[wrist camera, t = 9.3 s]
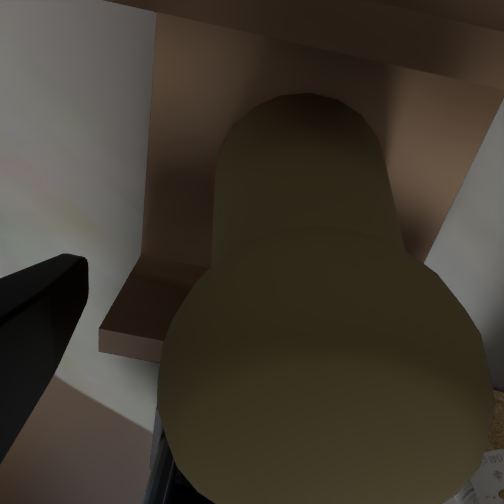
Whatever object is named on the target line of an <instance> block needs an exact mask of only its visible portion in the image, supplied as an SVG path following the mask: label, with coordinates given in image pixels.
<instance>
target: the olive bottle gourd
mask: <svg viewBox="0 0 504 504" xmlns="http://www.w3.org/2000/svg"><path fill="white" fill-rule="evenodd" d="M495 406H496V401H495V397H494V392H493V387H492V382H491V378H490V373H489V368H488V364H487V360H486V355H485V351H484V346H483V342H482V337H481V334H480V332H479V330H478V329H477V327H476V326H475V324H474V323H473V321H472V319H471V318H470V316H469V315H468V313H467V311H466V310H465V308H464V307H463V306H462V305H461V303H460V302H459V301H458V300H457V298H456V297H455V296H454V294H453V293H452V292H451V291H450V289H449V288H448V287H447V286H446V284H445V283H444V282H443V281H442V279H441V278H440V277H439V276H438V274H436V273H435V272H434V271H432V270H431V269H430V268H429V267H427V266H426V265H425V264H423V263H422V262H421V261H419V260H418V259H416V258H415V257H413V256H411V255H409V254H408V253H406V252H405V249H404V244H403V240H402V235H401V231H400V226H399V222H398V217H397V213H396V208H395V203H394V199H393V194H392V190H391V185H390V181H389V176H388V172H387V167H386V163H385V159H384V156H383V152H382V149H381V145H380V142H379V139H378V136H377V135H376V134H375V132H374V131H373V130H372V128H371V127H370V126H369V124H368V123H367V122H366V120H365V119H364V117H363V116H362V115H361V114H359V113H358V112H356V111H355V110H353V109H352V108H350V107H349V106H347V105H345V104H344V103H342V102H341V101H339V100H337V99H333V98H329V97H325V96H321V95H317V94H313V93H301V94H291V95H280V96H278V97H276V98H273V99H271V100H269V101H267V102H264V103H262V104H260V105H258V106H255V107H253V108H252V109H251V110H250V111H249V112H248V113H247V114H245V115H244V116H243V117H242V118H241V119H240V120H239V121H238V122H237V123H236V124H235V125H233V126H232V128H231V130H230V132H229V133H228V135H227V137H226V139H225V141H224V143H223V144H222V146H221V148H220V150H219V155H218V160H217V166H216V171H215V183H214V209H213V236H212V262H211V268H210V269H208V270H207V271H206V272H205V273H204V275H203V276H202V277H201V278H200V279H199V280H198V281H197V282H196V284H195V285H194V286H193V288H192V289H191V291H190V292H189V294H188V295H187V297H186V299H185V300H184V302H183V303H182V305H181V306H180V308H179V310H178V311H177V313H176V314H175V316H174V318H173V319H172V322H171V324H170V327H169V329H168V332H167V335H166V337H165V340H164V342H163V347H162V354H161V361H160V368H159V375H158V389H157V410H158V413H159V416H160V420H161V423H162V426H163V429H164V432H165V435H166V439H167V442H168V444H169V447H170V450H171V452H172V455H173V458H174V460H175V463H176V466H177V468H178V469H179V470H180V471H181V472H182V474H183V475H184V476H185V477H186V478H187V480H188V481H189V482H190V483H191V484H192V486H193V487H194V488H195V489H196V490H197V492H199V493H200V494H202V495H203V496H205V497H206V498H208V499H209V500H211V501H212V502H214V503H215V504H442V503H444V502H445V501H447V500H448V499H450V498H452V497H453V496H455V495H457V494H458V493H459V491H460V490H461V489H462V488H463V487H464V485H465V484H466V483H467V482H468V481H469V480H470V478H471V477H472V476H473V475H474V474H475V473H476V471H477V470H478V469H479V468H480V465H481V462H482V458H483V455H484V451H485V448H486V444H487V440H488V437H489V433H490V428H491V424H492V419H493V415H494V410H495Z"/></svg>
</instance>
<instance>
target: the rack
mask: <svg viewBox="0 0 504 504" xmlns="http://www.w3.org/2000/svg"><path fill="white" fill-rule="evenodd" d="M105 1H110V2H114V3H119V4H123V5H128V6H132V7H137V8H141V9H145V10H150V11H154V12H157V19H156V35H155V50H154V65H153V80H152V95H151V111H150V126H149V141H148V156H147V171H146V186H145V202H144V217H143V232H142V247H141V256H140V258H139V259H138V261H137V263H136V265H135V266H134V268H133V270H132V271H131V273H130V275H129V277H128V278H127V280H126V282H125V284H124V285H123V287H122V289H121V291H120V292H119V294H118V296H117V298H116V299H115V301H114V303H113V305H112V306H111V308H110V310H109V312H108V313H107V315H106V317H105V319H104V320H103V322H102V324H101V326H100V327H99V352H104V353H109V354H114V355H120V356H125V357H130V358H136V359H141V360H146V361H151V362H157V363H160V361H161V354H162V347H163V342H164V340H165V337H166V335H167V332H168V329H169V327H170V324H171V322H172V319H173V318H174V316H175V314H176V313H177V311H178V310H179V308H180V306H181V305H182V303H183V302H184V300H185V299H186V297H187V295H188V294H189V292H190V291H191V289H192V288H193V286H194V285H195V284H196V282H197V281H198V280H199V279H200V278H201V277H202V276H203V275H204V273H205V272H206V271H207V270H208V269H210V268H211V262H212V236H213V209H214V183H215V171H216V166H217V160H218V155H219V150H220V148H221V146H222V144H223V143H224V141H225V139H226V137H227V135H228V133H229V132H230V130H231V128H232V126H233V125H235V124H236V123H237V122H238V121H239V120H240V119H241V118H242V117H243V116H244V115H245V114H247V113H248V112H249V111H250V110H251V109H252V108H253V107H255V106H258V105H260V104H262V103H264V102H267V101H269V100H271V99H273V98H276V97H278V96H280V95H291V94H301V93H313V94H317V95H321V96H325V97H329V98H333V99H337V100H339V101H341V102H342V103H344V104H345V105H347V106H349V107H350V108H352V109H353V110H355V111H356V112H358V113H359V114H361V115H362V116H363V117H364V119H365V120H366V122H367V123H368V124H369V126H370V127H371V128H372V130H373V131H374V132H375V134H376V135H377V136H378V139H379V142H380V145H381V149H382V152H383V156H384V159H385V163H386V167H387V172H388V176H389V181H390V185H391V190H392V194H393V199H394V203H395V208H396V213H397V217H398V222H399V226H400V231H401V235H402V240H403V244H404V249H405V252H406V253H408V254H409V255H411V256H413V257H415V258H416V259H418V260H419V261H421V262H422V263H423V264H424V261H425V259H426V257H427V255H428V253H429V251H430V249H431V247H432V245H433V243H434V241H435V239H436V237H437V235H438V233H439V231H440V228H441V226H442V224H443V222H444V220H445V218H446V216H447V214H448V212H449V210H450V208H451V206H452V204H453V202H454V200H455V197H456V195H457V193H458V191H459V189H460V187H461V185H462V183H463V181H464V179H465V177H466V175H467V173H468V171H469V169H470V167H471V164H472V162H473V160H474V158H475V156H476V154H477V152H478V150H479V148H480V146H481V144H482V142H483V140H484V138H485V136H486V134H487V131H488V129H489V127H490V125H491V123H492V121H493V119H494V117H495V115H496V113H497V111H498V109H499V107H500V105H501V103H502V100H503V98H504V0H105Z"/></svg>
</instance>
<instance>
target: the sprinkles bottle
mask: <svg viewBox="0 0 504 504" xmlns="http://www.w3.org/2000/svg"><path fill="white" fill-rule="evenodd" d="M493 392H494V397H495V401H496V406H495V410H494V415H493V419H492V424H491V428H490V433H489V437H488V440H487V444H486V448H485V451H484V455H483V458H482V462H481V465H480V468H479V469H478V470H477V471H476V473H475V474H474V475H473V476H472V477H471V478H470V480H469V481H468V482H467V483H466V484H465V485H464V487H463V488H462V489H461V490H460V491H459V493H458V494H457V495H455V499H456V501H457V504H504V393H503V392H501V391H496V390H493Z"/></svg>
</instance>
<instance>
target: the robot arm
mask: <svg viewBox="0 0 504 504" xmlns="http://www.w3.org/2000/svg"><path fill="white" fill-rule="evenodd" d="M88 294H89V283H88V262H87V259H86V258H85V257H82V256H77V255H72V254H66V253H65V254H61V255H58V256H56V257H53V258H51V259H48V260H46V261H43V262H41V263H38V264H35V265H33V266H30V267H28V268H25V269H23V270H20V271H18V272H15V273H13V274H10V275H8V276H5V277H3V278H0V464H1V462H2V461H3V459H4V457H5V456H6V454H7V452H8V451H9V449H10V447H11V446H12V444H13V442H14V441H15V439H16V437H17V436H18V434H19V432H20V431H21V429H22V427H23V426H24V424H25V422H26V421H27V419H28V417H29V416H30V414H31V412H32V411H33V409H34V407H35V406H36V404H37V402H38V401H39V399H40V397H41V396H42V394H43V392H44V391H45V389H46V387H47V386H48V384H49V382H50V380H51V379H52V377H53V375H54V373H55V371H56V369H57V367H58V365H59V363H60V361H61V359H62V357H63V354H64V352H65V350H66V348H67V345H68V343H69V341H70V339H71V337H72V334H73V332H74V330H75V328H76V325H77V323H78V321H79V319H80V317H81V314H82V312H83V310H84V308H85V305H86V303H87V299H88ZM150 470H151V473H150V477H149V480H148V483H147V487H146V490H145V494H144V498H143V501H142V504H215V503H214V502H212V501H211V500H209V499H208V498H206V497H205V496H203V495H202V494H200V493H199V492H197V490H196V489H195V488H194V487H193V486H192V484H191V483H190V482H189V481H188V480H187V478H186V477H185V476H184V475H183V474H182V472H181V471H180V470H179V469H178V468H177V466H176V463H175V460H174V458H173V455H172V452H171V450H170V447H169V444H168V442H167V439H166V435H165V432H164V429H163V426H162V423H161V420H160V416H159V413H158V410H157V408H156V415H155V424H154V433H153V443H152V451H151V459H150Z"/></svg>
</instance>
